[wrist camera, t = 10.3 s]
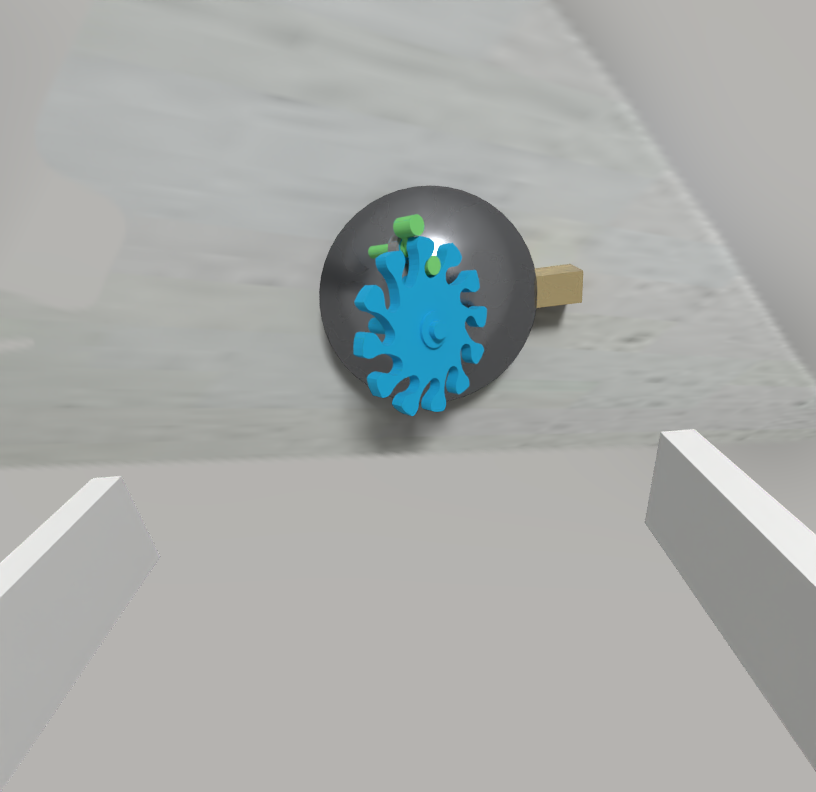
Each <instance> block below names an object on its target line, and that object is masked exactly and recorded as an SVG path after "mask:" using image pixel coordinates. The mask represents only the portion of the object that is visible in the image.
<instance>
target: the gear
mask: <svg viewBox="0 0 816 792" xmlns="http://www.w3.org/2000/svg"><path fill="white" fill-rule="evenodd" d="M393 230H394V233H395V235H393V236H392V237H391V238H390V240H389V242H388V244H383V245H376V246H371V247H370V248H369V250H368V254H369V256H370V257H371V258H372V259H375V263H376V267H377V269H378V271H379V272H380V273H381V274H382V276H383V277H384V279H385V281H386V283H387V286H388V290H389V296H390V306H389V309H388V310H387V309H386V306H385V299H384V293H383V291H382V289H381V288H380V287H379V286H377V285H365V286H364V287H363V288H362V289H361V290H360V291H359V293H358V295H357V297H356V299H355V301H354V303H355V306H356V307H357V308H358V309H359V310H360V311H363V312H367V313H370V314H371V315H373V316H374V317H375V318H371V319H370V321H369V323H368V328H369V331H370V332H371V333H370V332H357V333H356V334H355V337H354V345H353V354H354V355H355V356H357V357H361V358H367V359H371V358H374V357H376V356H377V355H380V354H386V355H388V356H390V357H391V358H392V360H393V367H392V370H391V371H390V372H389V373H382V372H377V371H374V372H372V373H370V374H369V375H368V376H367V383H368V386H369V389H370V391H371V393H372V395H373V396H377V397H381V398H385V397H388V396H389V395H390V394H391V393H392V391H393V389H394V388H395V386H396V385H397V384H398V383H399V382H400V381H401V380H403V379H404V378H407V377H409V378H410V384H409V387H408V388H407V389H406V390H405V391H403V392H400V393H398V394H397V395H396V396H395V397H394V399H393V401H392V405H393V406H394V408H395V409H396V410H398V411H399V412H401V413H403V414H407V415H410V416H414V415H415V414H416V412H417V410H418V407H419V400H420V397H421V394H422V392H423V390H424V388H425V387H426V385H427V384H428V383H429V381H430V388H429V390H428V391H427V392H426V394H425V395H424V396H423V398H422V402H421V406H422V408H423V409H426V410H430V411H434V412H440V411H444V410H445V407H446V398H445V393H444V386H445V380H446V376H447V373H448V370H449V373H448V377H447V381H446V389H447V391H448V392H450V393H455V394H461V393H462V392H464V391H465V390H466V389H467V388H468V387H469V379H468V377H467V376H466V375H465V373H464V371H463V369H462V365H461V356H460V351H461V355H462V359H463V361H464V362H466V363H473V364H477V363H478V362H479V361H480V359H481V357H482V355H483V352H484V347H483V346H482V344H479V343H476V342H474V341H473V340H472V339H471V338H470V337H469V335H468V333H467V331H466V329H465V321H466V322H467V324H468V325H469V326H470V327H484V326H485V323H486V317H487V308H486V307H484V306H471V307H469V308H467V307H465V306H464V305H462V303H461V301H460V293H461V292H476V291H478V290H479V288H480V284H479V278H478V274H477V271H476V270H465V271H461V272H460V273H459V275H458V277H457V278H456V279H455V280H454V281H453V282H452V283H451V284H448V283H447V281H446V271H447V270H448V268H450V267H455V266H458V265H459V264H460V262H461V260H462V255H461V253H460V251H459V250H458V248H457V247H456V246H455V245H454V244H453V243H447V244H441V245H440V246H439V247H438V249H437V253H436V256H432V254H433V252H434V241H432V240H431V239H429V238H427V237H423V236H419V235H421V234H422V233H423V231H424V221H423V219H422V217H421V216H420V215H418V214H415V215H410V216H405V217H400V218H397V219H396V220H395V221H394V224H393ZM413 236H416V237H413ZM374 333H375V334H374ZM376 334H385V339H384V341H383V342H381V341H380V339H379V338H378V336H377V335H376Z"/></svg>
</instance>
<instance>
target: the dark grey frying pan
mask: <svg viewBox="0 0 816 792" xmlns="http://www.w3.org/2000/svg"><path fill="white" fill-rule="evenodd" d="M415 214H418V215H420V216H421V217H422V219H423V221H424V231H423V233H422V234H421V235H419V236H423V237H427V238H429V239H431V240H432V241H434V252H433V254H432V256H436V253H437V249H438V247H439V246H440V245H441V244H447V243H453V244H454V245H455V246H456V247H457V248H458V250H459V251H460V253H461V255H462V260H461V262H460V264H459V265H458V266H455V267H450V268H448V270H447V271H446V281H447V283H448V284H451V283H452V282H453V281H454V280H455V279H456V278H457V277H458V275H459V273H460V272H461V271H465V270H476V271H477V274H478V278H479V284H480V288H479V290H478V291H476V292H461V293H460V301H461V303H462V305H464V306H465V307H467V308H469V307H471V306H484V307H486V308H487V317H486V323H485V326H484V327H470V326H469V325H468V324H467V322H466V321H465V329H466V331H467V333H468V335H469V337H470V338H471V339H472V340H473V341H474V342H476V343H479V344H482V346H483V347H484V352H483V355H482V357H481V359H480V361H479V362H478V363H477V364H473V363H466V362H464V361H463V359H462V355H461V351H460V356H461V365H462V369H463V371H464V373H465V375H466V376H467V377H468V379H469V387H468V388H467V389H466V390H465V391H464V392H462V393H461V394H455V393H450V392H448V391H447V389H446V381H447V377H448V373H449V370H448V373H447V376H446V380H445V386H444V393H445V398H446V401H449V400H454V399H457V398H460V397H464V396H466V395H469V394H471V393H473V392H476V391H477V390H479V389H481V388H483V387H484V386H486V385H488V384H489V383H490V382H492V381H493V380H494V379H496V378H497V377H498V376H499V375H500V374H502V373H503V372H504V371H505V370H506V369H507V368H508V367H509V365H510V364H511V363H512V362H513V361H514V359H515V358H516V357H517V355H518V354H519V352H520V351H521V349H522V348H523V346H524V344H525V342H526V340H527V338H528V336H529V334H530V331H531V328H532V325H533V322H534V317H535V312H536V308H540V307H549V306H557V305H565V304H573V303H581V302H582V288H583V270H581V269H579V268H577V267H575V266H573V265H571V264H567V265H560V266H552V267H544V268H536V269H535V268H534V264H533V261H532V258H531V255H530V252H529V250H528V248H527V246H526V244H525V242H524V240H523V238H522V236H521V235H520V234H519V232H518V231H517V229H516V228H515V227H514V225H513V224H512V223H511V222H510V221H509V220H508V219H507V218H506V217H505V216H504V215H503V214H502V213H501V212H500V211H499V210H497V209H496V208H495V207H494V206H492V205H491V204H490V203H488V202H486V201H484V200H482V199H481V198H479V197H477V196H475V195H472V194H470V193H467V192H465V191H462V190H458V189H453V188H449V187H441V186H419V187H411V188H407V189H402V190H398V191H396V192H393V193H390V194H388V195H385V196H383V197H381V198H379V199H377V200H375V201H374V202H372V203H370V204H369V205H367V206H366V207H365V208H363V209H362V210H361V211H359V212H358V213H357V214H356V215H355V216H354V217H353V218H352V219H351V220H350V221H349V222H348V223H347V224H346V225H345V227H344V228H343V229H342V230H341V232H340V233H339V234H338V236H337V237H336V239H335V241H334V243H333V245H332V246H331V248H330V250H329V253H328V255H327V258H326V260H325V263H324V267H323V271H322V275H321V282H320V291H319V294H320V310H321V317H322V321H323V325H324V328H325V332H326V334H327V337H328V339H329V341H330V344H331V346H332V347H333V349H334V351H335V352H336V354H337V356H338V357H339V358H340V360H341V361H342V362H343V364H344V365H345V366H346V367H347V368H348V369H349V370H350V371H351V372H352V373H353V374H354V375H355V376H356V377H357V378H358V379H360V380H361V381H362V382H364V383H365V384H366V385H368V383H367V376H368V375H369V374H370V373H372V372H374V371H377V372H382V373H389V372H390V371H391V370H392V367H393V360H392V358H391V357H390V356H388V355H386V354H380V355H377V356H376V357H374V358H371V359H367V358H361V357H357V356H355V355H354V354H353V345H354V337H355V334H356V333H357V332H370V331H369V328H368V323H369V321H370V319H371V318H375V317H374V316H373V315H371V314H370V313H367V312H363V311H360V310H359V309H358V308H357V307H356V306H355V303H354V301H355V299H356V297H357V295H358V293H359V291H360V290H361V289H362V288H363V287H364V286H365V285H377V286H379V287H380V288H381V289H382V291H383V293H384V299H385V306H386V309H387V310H388V309H389V306H390V296H389V290H388V286H387V283H386V281H385V279H384V277H383V276H382V274H381V273H380V272H379V271H378V269H377V267H376V263H375V259H372V258H371V257H370V256H369V254H368V250H369V248H370V247H371V246H376V245H383V244H388V242H389V240H390V238H391V237H392V236H393V235H395V233H394V230H393V224H394V221H395V220H396V219H397V218H400V217H405V216H410V215H415ZM413 237H416V236H413ZM370 333H371V332H370ZM374 334H375V333H374ZM376 335H377V336H378V338H379V339H380V341H381V342H383V341H384V339H385V334H376ZM409 384H410V378H409V377H407V378H404V379H403V380H401V381H400V382H399V383H398V384H397V385H396V386H395V388H394V389H393V391H392V393H391V394H390V395H389V396H390V397H393V398H394V397H395V396H396V395H397V394H398V393H400V392H403V391H405V390H406V389H407V388H408V387H409ZM429 388H430V381H429V383H428V384H427V385H426V387H425V388H424V390H423V392H422V394H421V397H420V400H419V403H421V402H422V398H423V396H424V395H425V394H426V392H427V391H428V390H429Z"/></svg>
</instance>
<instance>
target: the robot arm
mask: <svg viewBox="0 0 816 792" xmlns="http://www.w3.org/2000/svg"><path fill="white" fill-rule="evenodd" d="M645 524H646V525H647V527H648V528H649V530H650V531H651V532H652V534H653V535H654V537H655V538H656V540H657V541H658V543H659V544H660V546H661V547H662V548H663V550H664V551H665V553H666V554H667V556H668V557H669V559H670V560H671V561H672V563H673V564H674V566H675V567H676V569H677V570H678V571H679V573H680V575H681V576H682V578H683V579H684V580H685V582H686V583H687V585H688V586H689V588H690V589H691V591H692V592H693V594H694V595H695V596H696V598H697V599H698V601H699V602H700V604H701V605H702V607H703V608H704V609H705V611H706V612H707V614H708V615H709V617H710V618H711V620H712V621H713V623H714V624H715V626H716V627H717V629H718V630H719V631H720V633H721V634H722V636H723V637H724V639H725V640H726V641H727V643H728V645H729V646H730V647H731V649H732V650H733V652H734V653H735V655H736V656H737V658H738V659H739V661H740V662H741V663H742V665H743V666H744V667H745V669H746V671H747V672H748V674H749V675H750V676H751V678H752V679H753V681H754V682H755V684H756V685H757V687H758V688H759V690H760V691H761V692H762V694H763V696H764V697H765V698H766V700H767V701H768V703H769V704H770V706H771V707H772V708H773V710H774V712H775V713H776V714H777V716H778V717H779V719H780V720H781V722H782V723H783V725H784V726H785V728H786V729H787V730H788V732H789V733H790V735H791V736H792V738H793V739H794V741H795V742H796V744H797V745H798V746H799V748H800V749H801V751H802V752H803V754H804V755H805V757H806V758H807V760H808V761H809V762H810V764H811V765H812V767H813V768H814V770H815V771H816V534H814V533H813V532H812V531H811V530H810V529H808V528H807V527H806V526H805V525H804V524H803V523H802V522H801V521H799V520H798V519H797V518H796V517H795V516H793V515H792V514H791V513H790V512H789V511H788V510H787V509H786V508H784V507H783V506H782V505H781V504H780V503H779V502H777V501H776V500H775V499H774V498H773V497H772V496H771V495H769V494H768V493H767V492H766V491H765V490H764V489H762V488H761V487H760V486H759V485H758V484H757V483H756V482H754V481H753V480H752V479H751V478H750V477H749V476H748V475H746V474H745V473H744V472H743V471H742V470H741V469H739V468H738V467H737V466H736V465H735V464H734V463H733V462H731V461H730V460H729V459H728V458H727V457H726V456H725V455H723V454H722V453H721V452H720V451H719V450H718V449H717V448H715V447H714V446H713V445H712V444H711V443H710V442H708V441H707V440H706V439H705V438H704V437H703V436H702V435H700V434H699V433H698V432H697V431H696V430H695V429H691V430H679V431H667V432H661V433H660V438H659V444H658V450H657V456H656V461H655V467H654V473H653V479H652V484H651V490H650V496H649V502H648V507H647V513H646V518H645ZM159 558H160V555H159V553H158V551H157V549H156V547H155V545H154V543H153V541H152V539H151V536H150V534H149V532H148V530H147V528H146V526H145V524H144V522H143V520H142V518H141V515H140V513H139V511H138V509H137V507H136V505H135V503H134V501H133V499H132V497H131V494H130V492H129V491H128V488H127V486H126V484H125V482H124V480H123V478H122V476H116V477H103V478H92V479H91V480H90V481H89V482H88V483H87V484H86V485H85V486H84V487H82V489H80V490H79V491H78V492H77V493H76V494H75V495H74V496H73V497H72V498H70V499H69V500H68V501H67V502H66V503H65V504H64V505H63V506H62V507H61V508H60V509H58V511H56V512H55V513H54V514H53V515H52V516H51V517H50V518H49V519H48V520H46V521H45V522H44V523H43V524H42V525H41V526H40V527H39V528H38V529H37V530H36V531H34V532H33V533H32V534H31V535H30V536H29V537H28V538H27V539H26V540H25V541H24V542H23V543H21V544H20V545H19V546H18V547H17V548H16V549H15V550H14V551H13V552H12V553H11V554H9V555H8V556H7V557H6V558H5V559H4V560H3V561H2V562H1V563H0V792H2V790H3V788H4V787H5V786H6V784H7V783H8V781H9V779H10V778H11V777H12V775H13V774H14V772H15V771H16V769H17V768H18V766H19V765H20V763H21V762H22V760H23V759H24V758H25V756H26V755H27V753H28V751H29V750H30V748H31V747H32V746H33V744H34V743H35V741H36V740H37V738H38V737H39V735H40V734H41V732H42V731H43V729H44V728H45V727H46V725H47V724H48V722H49V721H50V719H51V718H52V716H53V715H54V713H55V712H56V710H57V709H58V707H59V706H60V704H61V703H62V701H63V700H64V698H65V697H66V696H67V694H68V692H69V691H70V690H71V688H72V687H73V685H74V684H75V682H76V681H77V679H78V678H79V676H80V675H81V673H82V672H83V670H84V669H85V667H86V666H87V664H88V663H89V661H90V660H91V659H92V657H93V656H94V654H95V653H96V651H97V649H98V648H99V647H100V645H101V644H102V642H103V641H104V639H105V638H106V636H107V635H108V633H109V632H110V631H111V629H112V627H113V626H114V625H115V623H116V622H117V620H118V619H119V617H120V615H121V614H122V613H123V611H124V610H125V608H126V607H127V605H128V604H129V602H130V601H131V600H132V598H133V597H134V595H135V593H136V592H137V591H138V589H139V588H140V586H141V585H142V583H143V582H144V580H145V579H146V577H147V576H148V574H149V573H150V571H151V570H152V569H153V567H154V566H155V564H156V563H157V561H158V560H159Z"/></svg>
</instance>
